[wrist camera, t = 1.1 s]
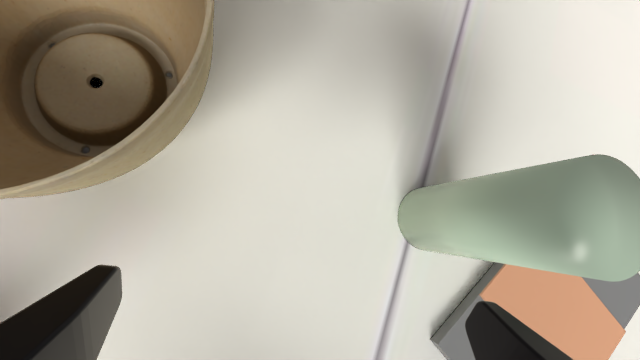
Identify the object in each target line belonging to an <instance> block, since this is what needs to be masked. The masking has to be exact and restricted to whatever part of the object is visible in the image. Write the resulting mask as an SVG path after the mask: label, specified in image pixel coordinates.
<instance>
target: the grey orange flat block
mask: <svg viewBox="0 0 640 360" xmlns="http://www.w3.org/2000/svg"><path fill="white" fill-rule="evenodd" d="M479 301H490V302H494V303H496V304H498V305H499V306H500V307H502V308H503V309H504V310H506V311H507V312H509V313H510V314H511V315H513V316H514V317H516V318H517V319H518V320H520V321H521V322H522V323H524V324H525V325H527V326H528V327H529V328H531V329H532V330H533V331H535V332H536V333H538V334H539V335H540V336H542V337H543V338H544V339H546V340H547V341H549V342H550V343H551V344H553V345H554V346H556V347H557V348H558V349H560V350H561V351H562V352H564V353H565V354H567V355H568V356H569V357H571V358H572V359H573V360H608V359H609V357H610V356H611V354H612V353H613V351H614V350H615V348H616V346H617V345H618V343H619V342H620V340H621V339H622V337H623V335H624V334H625V332H626V331H625V330H624V329H625V327H626V326H627V324H628V323H629V321H630V319H631V318H632V316H633V315H634V313H635V312H636V310H637V309H638V307H639V305H640V275H639V274H638V273H637V274H635V275H634V276H632V277H631V278H628V279H626V280H623V281H617V282H610V281H603V280H597V279H591V278H585V277H579V276H573V275H568V274H562V273H556V272H550V271H544V270H538V269H532V268H526V267H520V266H514V265H508V264H502V263H496V262H495V263H494V264H493V265H492V266H491V268H490V269H489V270H488V271H487V272H486V274H485V275H484V276H483V277H482V278H481V280H480V281H479V282H478V283H477V284H476V285H475V287H474V288H473V289H472V290H471V291H470V293H469V294H468V295H467V296H466V297H465V299H464V300H463V301H462V302H461V303H460V305H459V306H458V307H457V308H456V309H455V311H454V312H453V313H452V314H451V315H450V316H449V318H448V319H447V320H446V321H445V322H444V324H443V325H442V326H441V327H440V328H439V330H438V331H437V332H436V333H435V334H434V336H433V337H432V338H431V339H430V340H431V341H432V342H433V343H434V345H435V346H436V347H437V348H438V349H439V350H440V352H441V353H442V354H443V355H444V356H445V357H446V359H447V360H475V357H474V354H473V351H472V348H471V345H470V342H469V339H468V336H467V333H466V330H465V321H466V319H467V317H468V316H469V314H470V313H471V311H472V309H473V308H474V306H475V304H476V303H477V302H479Z"/></svg>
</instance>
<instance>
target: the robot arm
mask: <svg viewBox="0 0 640 360" xmlns="http://www.w3.org/2000/svg"><path fill="white" fill-rule="evenodd" d="M121 298H122V280H121V270H120V268H119V267H117V266H109V265H98V266H95V267H94V268H92V269H90V270H89V271H87V272H85V273H84V274H82V275H80V276H78V277H77V278H75V279H73V280H72V281H70V282H68V283H67V284H65V285H63V286H62V287H60V288H58V289H57V290H55V291H53V292H52V293H50V294H48V295H47V296H45V297H43V298H42V299H40V300H38V301H37V302H35V303H33V304H32V305H30V306H28V307H27V308H25V309H23V310H22V311H20V312H18V313H17V314H15V315H13V316H12V317H10V318H8V319H7V320H5V321H3V322H2V323H0V360H97V357H98V355H99V352H100V350H101V348H102V345H103V343H104V341H105V338H106V336H107V334H108V331H109V329H110V326H111V324H112V322H113V319H114V317H115V315H116V312H117V310H118V308H119V305H120V302H121ZM465 330H466V333H467V336H468V339H469V342H470V345H471V348H472V351H473V354H474V357H475V360H573V359H572V358H571V357H569V356H568V355H567V354H565V353H564V352H562V351H561V350H560V349H558V348H557V347H556V346H554V345H553V344H551V343H550V342H549V341H547V340H546V339H544V338H543V337H542V336H540V335H539V334H538V333H536V332H535V331H533V330H532V329H531V328H529V327H528V326H527V325H525V324H524V323H522V322H521V321H520V320H518V319H517V318H516V317H514V316H513V315H511V314H510V313H509V312H507V311H506V310H504V309H503V308H502V307H500V306H499V305H498V304H496V303H494V302H490V301H479V302H477V303H476V304H475V306H474V308H473V309H472V311H471V313H470V314H469V316H468V317H467V319H466V321H465Z"/></svg>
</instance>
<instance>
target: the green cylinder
mask: <svg viewBox="0 0 640 360" xmlns="http://www.w3.org/2000/svg"><path fill="white" fill-rule="evenodd" d="M398 224H399V228H400V231H401V233H402V235H403V237H404V238H405V239H406V241H407V242H408V243H409V244H411V245H412V246H414V247H415V248H418V249H421V250H425V251H431V252H437V253H443V254H449V255H455V256H461V257H467V258H473V259H479V260H485V261H491V262H496V263H502V264H508V265H514V266H520V267H526V268H532V269H538V270H544V271H550V272H556V273H562V274H568V275H573V276H579V277H585V278H591V279H597V280H603V281H610V282H617V281H623V280H626V279H628V278H631V277H632V276H634V275H635V274H637V273H638V272H639V271H640V179H639V177H638V176H637V175H636V174H635V173H634V171H633V170H632V169H630V168H629V167H628V166H627V165H626V164H624V163H623V162H621V161H620V160H618V159H616V158H613V157H611V156H607V155H598V154H597V155H589V156H584V157H579V158H574V159H568V160H563V161H558V162H553V163H547V164H542V165H537V166H532V167H527V168H521V169H516V170H511V171H506V172H500V173H495V174H490V175H485V176H480V177H474V178H469V179H464V180H459V181H453V182H448V183H443V184H438V185H432V186H427V187H422V188H418V189H415V190H413V191H411V192H409V193H408V194H407V195H406V196H405V197H404V199H403V200H402V202H401V204H400V207H399V211H398Z"/></svg>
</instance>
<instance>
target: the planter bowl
mask: <svg viewBox="0 0 640 360" xmlns="http://www.w3.org/2000/svg"><path fill="white" fill-rule="evenodd" d="M213 18H214V0H0V199H4V198H20V197H34V196H43V195H51V194H57V193H63V192H69V191H74V190H78V189H82V188H86V187H90V186H93V185H97V184H100V183H103V182H106V181H109V180H111V179H114V178H116V177H119V176H121V175H123V174H125V173H127V172H129V171H131V170H133V169H135V168H137V167H139V166H140V165H142V164H144V163H145V162H147V161H148V160H150V159H151V158H153V157H154V156H155V155H157V154H158V153H159V152H161V151H162V150H163V149H164V148H165V147H166V146H167V145H169V144H170V143H171V142H172V141H173V140H174V139H175V138H176V136H177V135H178V134H179V133H180V132H181V131H182V129H183V128H184V127H185V125H186V124H187V123H188V121H189V120H190V118H191V116H192V115H193V113H194V111H195V110H196V108H197V106H198V104H199V102H200V99H201V97H202V94H203V92H204V89H205V86H206V83H207V79H208V75H209V70H210V65H211V58H212V49H213ZM93 77H96V78H100V79H101V80H102V82H103V85H102V86H101V87H99V88H93V87H92V86H91V85H90V80H91V79H92V78H93Z"/></svg>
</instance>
